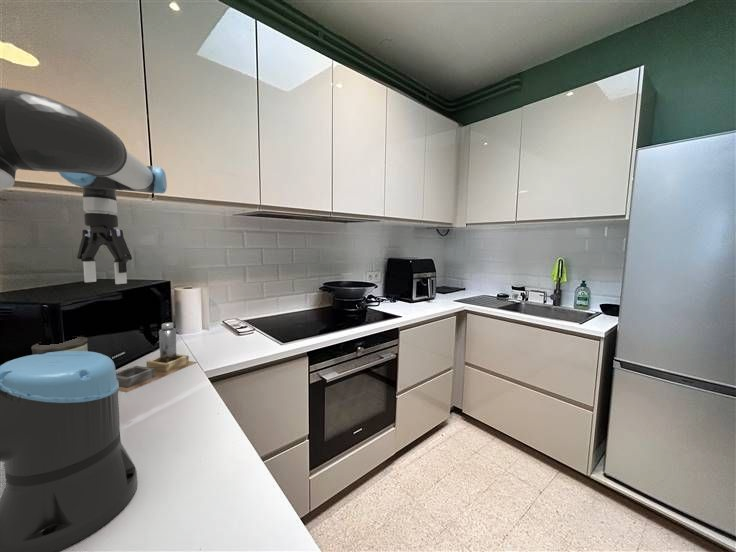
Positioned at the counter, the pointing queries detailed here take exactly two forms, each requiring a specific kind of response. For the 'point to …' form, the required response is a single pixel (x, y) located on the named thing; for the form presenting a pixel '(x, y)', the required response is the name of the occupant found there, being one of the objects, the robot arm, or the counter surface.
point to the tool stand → (149, 372)
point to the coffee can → (62, 346)
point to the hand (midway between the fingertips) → (105, 282)
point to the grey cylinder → (167, 343)
